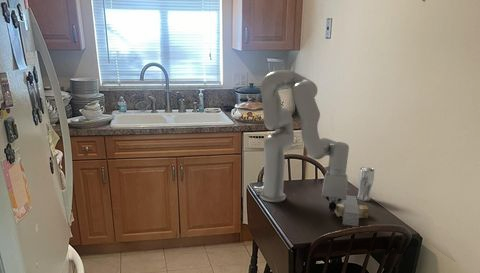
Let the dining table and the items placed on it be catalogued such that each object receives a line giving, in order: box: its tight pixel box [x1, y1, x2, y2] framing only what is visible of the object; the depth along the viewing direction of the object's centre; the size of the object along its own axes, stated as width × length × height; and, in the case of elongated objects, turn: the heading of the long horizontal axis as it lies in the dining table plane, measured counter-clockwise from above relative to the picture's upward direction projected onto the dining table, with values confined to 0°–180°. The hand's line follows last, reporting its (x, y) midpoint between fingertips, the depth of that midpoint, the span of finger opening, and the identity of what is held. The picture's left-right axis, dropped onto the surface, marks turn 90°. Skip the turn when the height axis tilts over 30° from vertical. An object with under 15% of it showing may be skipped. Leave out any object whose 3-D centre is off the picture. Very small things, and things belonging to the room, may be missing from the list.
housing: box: [340, 194, 360, 227], centre depth 161 cm, size 6×19×6 cm, turn 167°
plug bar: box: [334, 203, 370, 219], centre depth 162 cm, size 13×4×4 cm, turn 88°
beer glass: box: [356, 166, 375, 202], centre depth 179 cm, size 7×7×15 cm
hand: (332, 210), depth 163 cm, fingers closed
